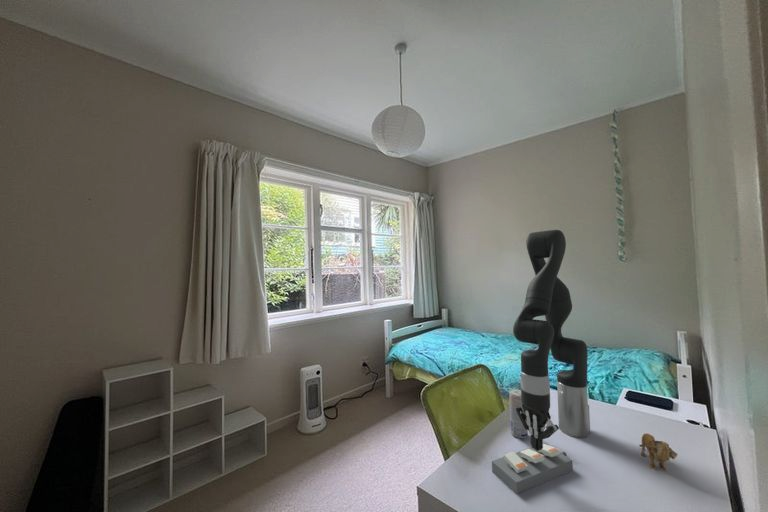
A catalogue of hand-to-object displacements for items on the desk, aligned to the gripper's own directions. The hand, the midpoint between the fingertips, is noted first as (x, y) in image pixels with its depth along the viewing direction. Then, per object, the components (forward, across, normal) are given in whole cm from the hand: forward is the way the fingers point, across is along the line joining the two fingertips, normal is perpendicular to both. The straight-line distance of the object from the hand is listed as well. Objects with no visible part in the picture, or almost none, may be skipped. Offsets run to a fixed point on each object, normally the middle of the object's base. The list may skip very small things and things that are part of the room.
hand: (536, 448), depth 82 cm
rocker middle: (+4, +2, 0) cm, 5 cm away
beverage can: (+8, +17, -11) cm, 22 cm away
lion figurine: (+8, -10, -37) cm, 39 cm away
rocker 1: (+4, +2, +6) cm, 8 cm away
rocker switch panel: (+7, +2, -2) cm, 8 cm away
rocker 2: (+4, +2, -7) cm, 8 cm away
